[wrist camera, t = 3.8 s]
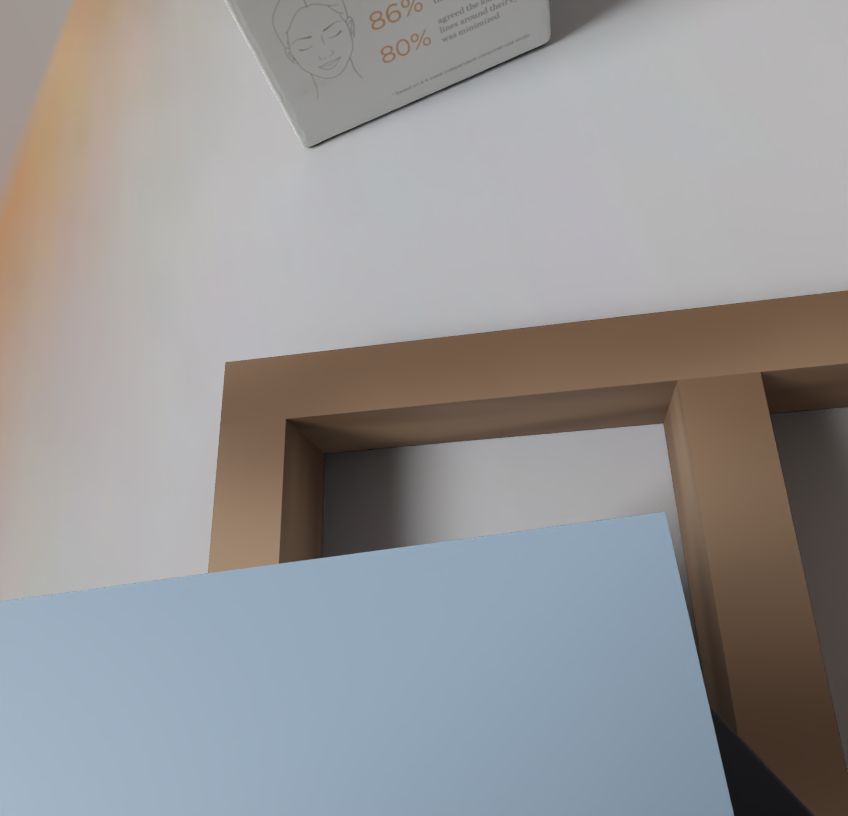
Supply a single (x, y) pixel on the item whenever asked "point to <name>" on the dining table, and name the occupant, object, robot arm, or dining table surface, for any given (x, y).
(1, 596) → the dining table surface
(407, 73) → the small box
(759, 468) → the comb rack
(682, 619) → the pale blue tall block
